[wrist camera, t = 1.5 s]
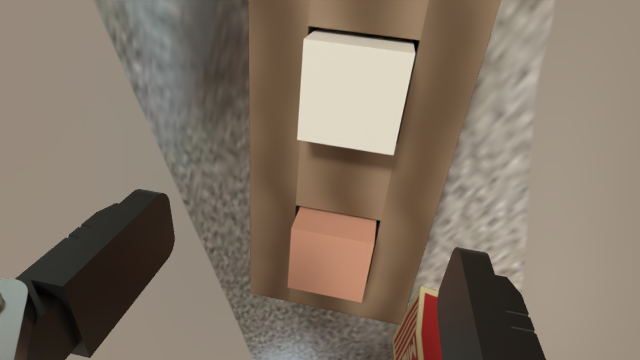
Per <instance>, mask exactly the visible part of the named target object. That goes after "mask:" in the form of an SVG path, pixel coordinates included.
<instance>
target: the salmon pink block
mask: <svg viewBox="0 0 640 360" xmlns="http://www.w3.org/2000/svg"><path fill="white" fill-rule="evenodd" d="M375 231H376V220H374V219H369V218H363V217H358V216H352V215H347V214H341V213H336V212H330V211H325V210H319V209H314V208H308V207H303V206H300V209H299V211H298V213H297V216H296V218H295V221H294V223H293V226H292V228H291V241H290V257H289V272H288V288H293V289H298V290H303V291H307V292H312V293H317V294H322V295H327V296H331V297H336V298H341V299H346V300H350V301H355V302H360V303H362V299H363V294H364V290H365V285H366V280H367V276H368V271H369V266H370V262H371V257H372V253H373V248H374V242H375Z"/></svg>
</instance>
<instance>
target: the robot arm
mask: <svg viewBox="0 0 640 360" xmlns="http://www.w3.org/2000/svg"><path fill="white" fill-rule="evenodd" d="M174 239H175V236H174V229H173V223H172V215H171V209H170V202H169V198H168V197H167V195H166V194H164V193H158V192H153V191H147V190H142V189H137V190H135V191H134V192H132V193H131V194H130V195H129V196H128V197H126V198H125V199H124V200H123V201H122V202H121V203H119V204H118V203H116V204H113V205H111V206H109V207H107V208H105V209H103V210H101V211H98V212H96V213H95V214H94V215H93V216H91V217H90V218H89V219H88V220H86V221H85V222H84V223H83V224H82V225H81V227H80V228H79V227H78V228H77V229H76V230H74V231H73V232H72V233H71V234H69V237H68V238H65V239H63V240H62V241H61V242H60V243H58V244H57V245H56V246H55V247H54V248H52V249H51V250H50V251H49V252H47V253H46V254H45V255H44V256H42V257H41V258H40V259H39V260H38V261H36V262H35V263H34V264H33V265H31V266H30V267H29V268H28V269H27V270H25V271H24V272H23V273H22V274H21V275H20V276H18V277H17V278H15V279H6V278H5V279H0V360H65V359H66V358H67V357H68V356H69V355H70V353H71V354H75V355H80V356H84V357H88V358H90V357H91V356H92V355H93V353H94V352H95V351H96V349H97V348H98V347H99V346H100V344H101V343H102V342H103V341H104V339H105V338H106V337H107V336H108V334H109V333H110V332H111V330H112V329H113V328H114V327H115V325H116V324H117V323H118V321H119V320H120V319H121V318H122V316H123V315H124V314H125V313H126V311H127V310H128V309H129V308H130V306H131V305H132V304H133V302H134V301H135V300H136V298H137V297H138V296H139V295H140V293H141V292H142V291H143V290H144V288H145V287H146V286H147V285H148V283H149V282H150V281H151V279H152V278H153V277H154V276H155V274H156V273H157V272H158V270H159V269H160V268H161V267H162V266H163V264H164V263H165V262H166V260H167V259H168V258H169V256H170V254H171V252H172V250H173V246H174V241H175V240H174ZM528 314H529V313H528V311H527V308H526V305H525V303H524V300H523V297H522V295H521V294H520V292H519V291H518V290H517V289H516V288H515V286H514V285H513V284H512V283H511V282H510V280H509V279H508V278H507V277H503V276H498V275H495V274H494V270H493V267H492V264H491V261H490V258H489V255H488V254H487V253H485V252H480V251H474V250H469V249H463V248H458V247H456V248H455V249H454V250H453V252H452V255H451V258H450V261H449V263H448V266H447V269H446V272H445V275H444V277H443V280H442V283H441V286H440V289H439V293H438V298H437V318H438V327H439V336H440V345H441V354H442V360H546V359H545V356H544V353H543V351H542V348H541V345H540V343H539V340H538V337H537V335H536V334H535V333H534V330H535V329H534V327H533V324H532V321H531V319H530V318H529V317H528Z"/></svg>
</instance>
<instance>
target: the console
mask: <svg viewBox="0 0 640 360" xmlns="http://www.w3.org/2000/svg"><path fill="white" fill-rule="evenodd" d="M500 2H501V0H249V125H250V277H251V293H252V294H257V295H262V296H266V297H271V298H276V299H281V300H285V301H290V302H295V303H299V304H304V305H309V306H313V307H318V308H323V309H328V310H332V311H337V312H342V313H346V314H351V315H356V316H360V317H365V318H370V319H375V320H379V321H384V322H389V323H393V324H398V325H401V324H402V321H403V317H404V314H405V311H406V308H407V304H408V301H409V298H410V295H411V291H412V288H413V285H414V282H415V278H416V275H417V272H418V269H419V265H420V262H421V259H422V256H423V252H424V249H425V246H426V243H427V239H428V236H429V233H430V230H431V226H432V223H433V220H434V217H435V213H436V210H437V207H438V204H439V201H440V197H441V194H442V191H443V188H444V184H445V181H446V178H447V175H448V171H449V168H450V165H451V162H452V158H453V155H454V152H455V149H456V145H457V142H458V139H459V136H460V132H461V129H462V126H463V123H464V119H465V116H466V113H467V110H468V106H469V103H470V100H471V97H472V93H473V90H474V87H475V84H476V80H477V77H478V74H479V71H480V67H481V64H482V61H483V58H484V54H485V51H486V48H487V45H488V41H489V38H490V35H491V32H492V28H493V25H494V22H495V19H496V15H497V12H498V9H499V6H500ZM317 28H318V29H326V30H334V31H342V32H350V33H357V34H365V35H373V36H381V37H389V38H397V39H404V40H412V41H413V44H414V49H415V57H414V62H413V67H412V71H411V76H410V81H409V85H408V90H407V95H406V99H405V104H404V109H403V113H402V118H401V123H400V127H399V132H398V136H397V141H396V146H395V150H394V155H388V154H381V153H375V152H369V151H363V150H357V149H351V148H345V147H338V146H332V145H326V144H320V143H314V142H308V141H302V140H297V134H298V118H299V103H300V87H301V72H302V57H303V41H304V38H305V37H307V36H308V35H309V34H311V33H312V32H313V31H315V30H316V29H317ZM300 206H303V207H308V208H314V209H319V210H325V211H330V212H336V213H341V214H347V215H352V216H358V217H363V218H369V219H374V220H376V231H375V242H374V248H373V253H372V257H371V262H370V266H369V271H368V276H367V280H366V285H365V290H364V294H363V299H362V303H360V302H355V301H350V300H346V299H341V298H336V297H331V296H327V295H322V294H317V293H312V292H307V291H303V290H298V289H293V288H288V272H289V257H290V241H291V228H292V226H293V223H294V221H295V218H296V216H297V213H298V211H299V209H300Z"/></svg>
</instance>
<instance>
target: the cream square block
mask: <svg viewBox="0 0 640 360" xmlns="http://www.w3.org/2000/svg"><path fill="white" fill-rule="evenodd" d="M414 57H415V49H414V44H413V41H412V40H404V39H397V38H389V37H381V36H373V35H365V34H357V33H350V32H342V31H334V30H326V29H318V28H317V29H316V30H315V31H313V32H312V33H311V34H309V35H308V36H307V37H305V38H304V41H303V57H302V72H301V87H300V103H299V118H298V134H297V140H302V141H308V142H314V143H320V144H326V145H332V146H338V147H345V148H351V149H357V150H363V151H369V152H375V153H381V154H388V155H394V150H395V146H396V141H397V136H398V132H399V127H400V123H401V118H402V113H403V109H404V104H405V99H406V95H407V90H408V85H409V81H410V76H411V71H412V67H413V62H414Z"/></svg>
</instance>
